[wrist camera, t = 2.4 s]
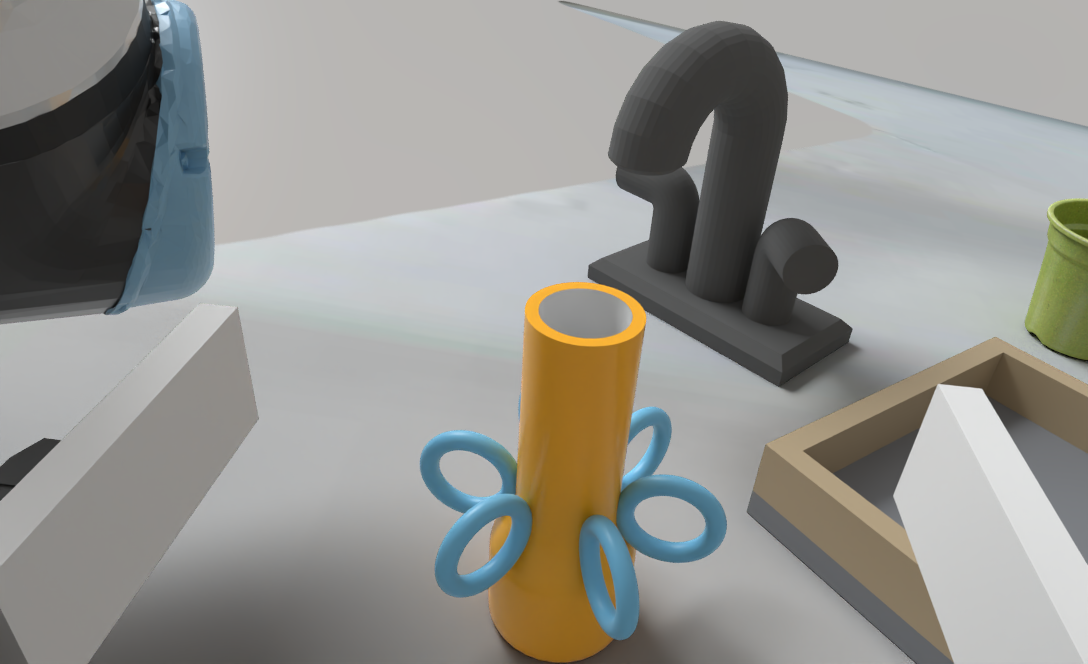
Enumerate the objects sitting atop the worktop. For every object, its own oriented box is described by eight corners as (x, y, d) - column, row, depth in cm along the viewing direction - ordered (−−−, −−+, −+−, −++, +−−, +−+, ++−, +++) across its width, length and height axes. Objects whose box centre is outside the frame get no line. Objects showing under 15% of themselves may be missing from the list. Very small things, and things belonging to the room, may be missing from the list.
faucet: (506, 304, 55) (516, 2, 44) (655, 245, 64) (693, -17, 53) (708, 439, 44) (789, 79, 33) (853, 344, 53) (954, 38, 42)
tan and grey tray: (746, 511, 39) (765, 444, 36) (968, 396, 48) (995, 336, 46) (1169, 889, 26) (1244, 822, 23) (1363, 629, 35) (1430, 562, 32)
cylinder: (707, 547, 37) (776, 271, 29) (684, 759, 28) (772, 452, 20) (464, 490, 39) (464, 219, 31) (376, 671, 31) (342, 363, 22)
